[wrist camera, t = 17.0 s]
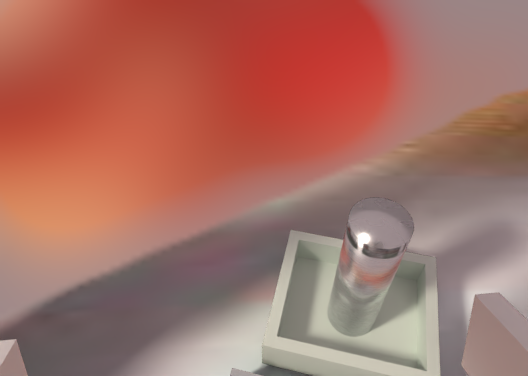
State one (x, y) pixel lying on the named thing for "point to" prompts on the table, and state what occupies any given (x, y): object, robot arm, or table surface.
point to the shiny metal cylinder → (368, 263)
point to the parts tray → (341, 346)
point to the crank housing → (241, 373)
